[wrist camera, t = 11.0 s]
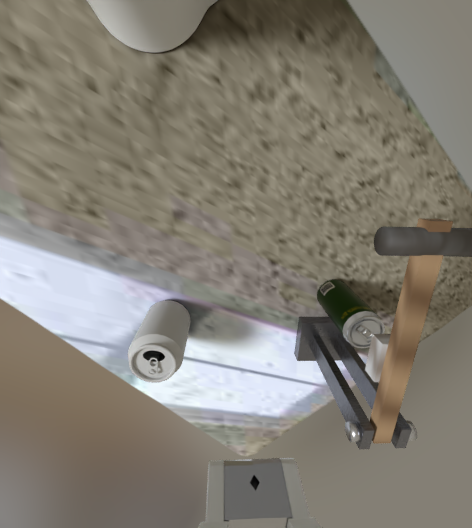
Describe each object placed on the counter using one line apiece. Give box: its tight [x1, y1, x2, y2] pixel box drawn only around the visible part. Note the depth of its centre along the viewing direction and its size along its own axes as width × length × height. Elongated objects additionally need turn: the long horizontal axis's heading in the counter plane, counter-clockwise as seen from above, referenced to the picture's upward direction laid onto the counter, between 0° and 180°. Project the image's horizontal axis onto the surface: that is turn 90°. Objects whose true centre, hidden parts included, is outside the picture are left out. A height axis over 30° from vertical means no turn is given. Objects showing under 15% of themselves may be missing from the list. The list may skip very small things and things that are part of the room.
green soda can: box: [317, 280, 385, 348], centre depth 40 cm, size 5×5×12 cm
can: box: [128, 300, 191, 382], centre depth 40 cm, size 8×8×12 cm
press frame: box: [294, 317, 417, 449], centre depth 39 cm, size 8×10×20 cm
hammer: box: [365, 219, 472, 443], centre depth 28 cm, size 26×9×4 cm, turn 178°
